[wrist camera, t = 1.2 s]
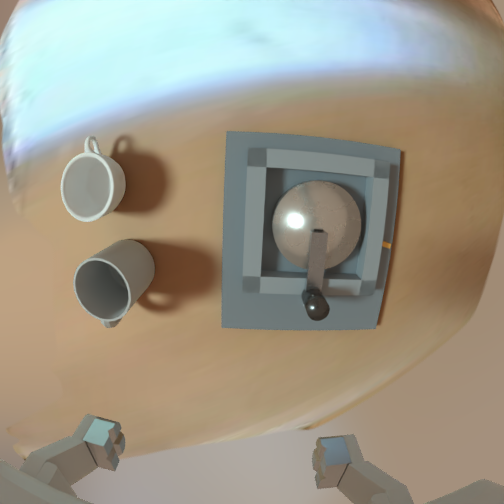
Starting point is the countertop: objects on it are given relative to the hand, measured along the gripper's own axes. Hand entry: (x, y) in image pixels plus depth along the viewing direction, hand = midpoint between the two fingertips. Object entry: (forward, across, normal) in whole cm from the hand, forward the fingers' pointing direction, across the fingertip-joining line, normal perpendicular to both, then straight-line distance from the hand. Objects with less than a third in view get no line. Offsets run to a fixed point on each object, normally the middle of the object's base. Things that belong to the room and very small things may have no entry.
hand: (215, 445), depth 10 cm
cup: (+28, +15, +2) cm, 31 cm away
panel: (+27, -8, -4) cm, 29 cm away
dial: (+26, -8, -4) cm, 27 cm away
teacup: (+27, +18, -11) cm, 34 cm away
